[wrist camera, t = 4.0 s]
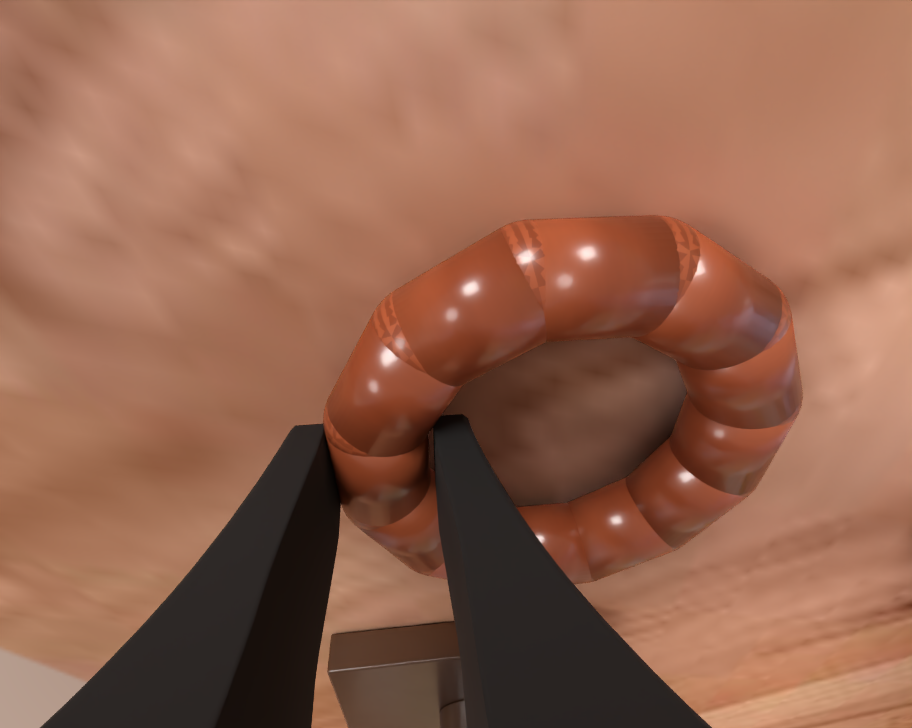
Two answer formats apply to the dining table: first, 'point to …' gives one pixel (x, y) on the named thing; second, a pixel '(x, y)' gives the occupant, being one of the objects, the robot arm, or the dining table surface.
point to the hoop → (566, 319)
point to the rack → (399, 677)
